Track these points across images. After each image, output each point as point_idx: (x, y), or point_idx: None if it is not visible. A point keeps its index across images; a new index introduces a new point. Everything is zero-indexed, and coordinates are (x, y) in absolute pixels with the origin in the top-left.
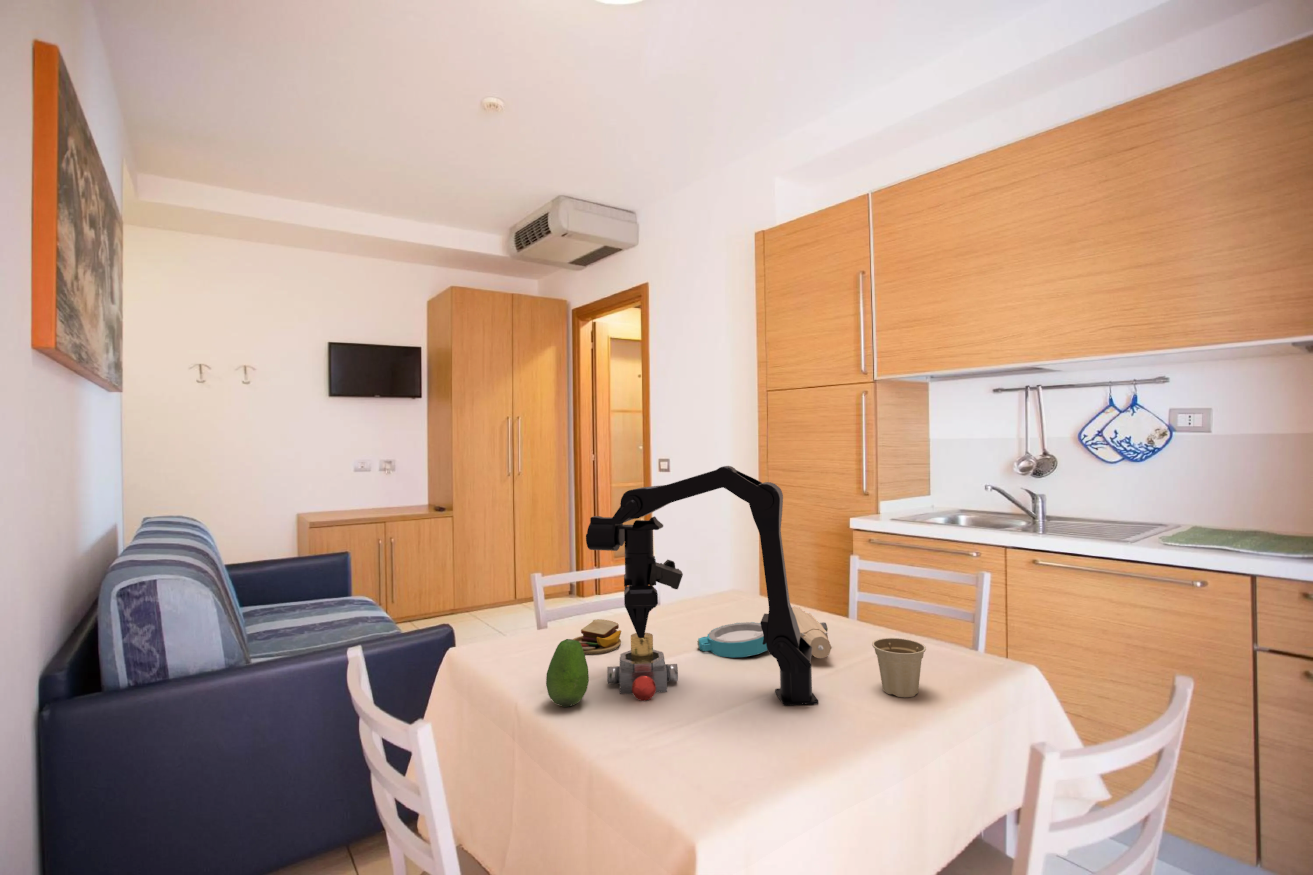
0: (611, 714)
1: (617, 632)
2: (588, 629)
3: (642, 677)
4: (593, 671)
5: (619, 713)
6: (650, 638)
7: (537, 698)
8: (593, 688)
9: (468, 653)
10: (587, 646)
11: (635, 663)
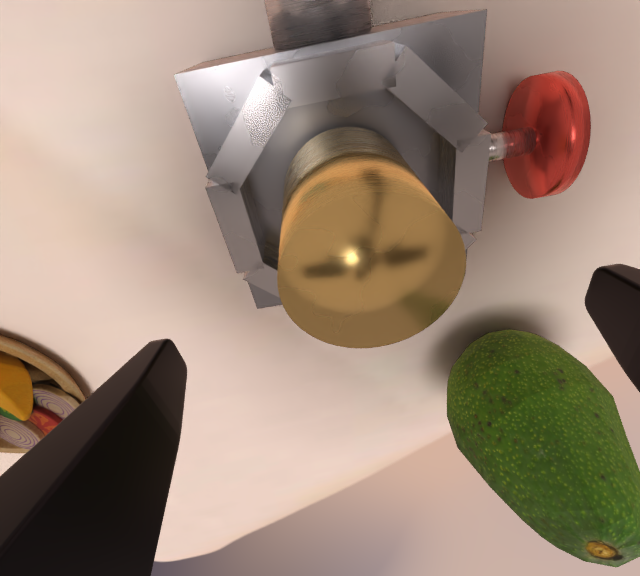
0: (602, 225)
1: None
2: None
3: (584, 159)
4: (231, 344)
5: (605, 200)
6: (429, 201)
7: (434, 408)
8: None
9: (185, 547)
10: (44, 408)
11: (471, 227)
